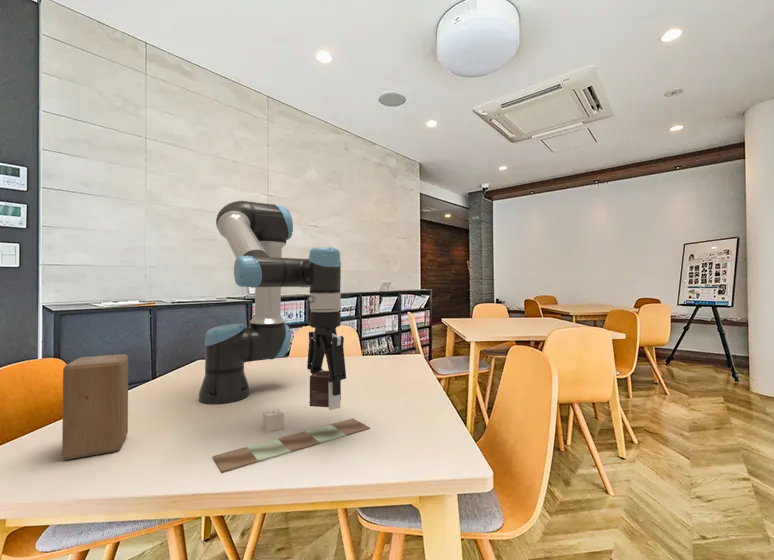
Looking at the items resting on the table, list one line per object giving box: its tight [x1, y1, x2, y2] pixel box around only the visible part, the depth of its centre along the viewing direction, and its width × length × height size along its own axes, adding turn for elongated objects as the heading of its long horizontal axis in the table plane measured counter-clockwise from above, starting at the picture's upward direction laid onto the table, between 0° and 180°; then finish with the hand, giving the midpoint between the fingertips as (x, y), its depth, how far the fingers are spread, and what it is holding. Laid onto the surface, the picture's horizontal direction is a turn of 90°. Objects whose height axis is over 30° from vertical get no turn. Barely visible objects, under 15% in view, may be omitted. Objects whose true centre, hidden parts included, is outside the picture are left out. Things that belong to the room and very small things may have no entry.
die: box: [262, 408, 285, 433], centre depth 92 cm, size 4×4×4 cm
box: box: [309, 370, 342, 409], centre depth 88 cm, size 6×6×7 cm
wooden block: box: [61, 353, 129, 460], centre depth 81 cm, size 10×10×20 cm
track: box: [212, 417, 371, 474], centre depth 83 cm, size 8×35×1 cm, turn 128°
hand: (325, 403), depth 88 cm, fingers closed on box, 8 cm apart
